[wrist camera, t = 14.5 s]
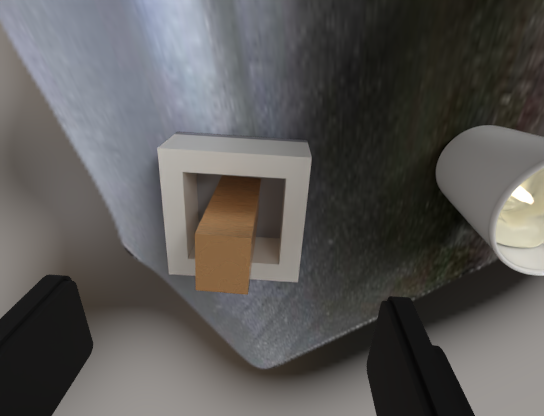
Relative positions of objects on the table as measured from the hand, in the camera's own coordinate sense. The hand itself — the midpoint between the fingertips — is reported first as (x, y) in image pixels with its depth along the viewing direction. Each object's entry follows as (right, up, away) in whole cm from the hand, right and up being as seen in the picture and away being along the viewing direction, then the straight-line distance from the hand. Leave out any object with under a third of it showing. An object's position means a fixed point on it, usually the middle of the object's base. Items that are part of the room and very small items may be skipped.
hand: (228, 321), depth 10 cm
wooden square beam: (-2, +4, +25) cm, 26 cm away
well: (-2, +5, +26) cm, 26 cm away
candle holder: (+22, +8, +24) cm, 34 cm away
